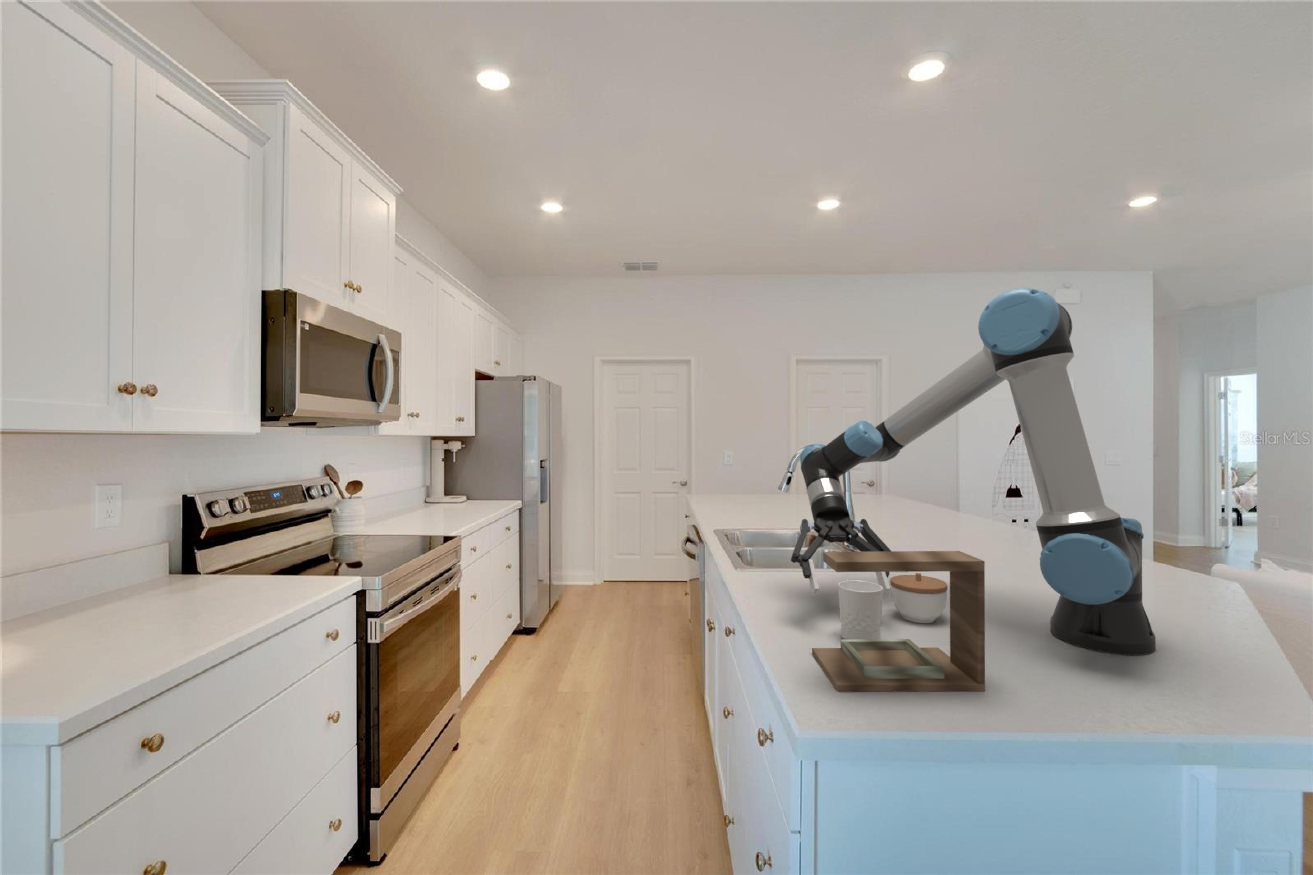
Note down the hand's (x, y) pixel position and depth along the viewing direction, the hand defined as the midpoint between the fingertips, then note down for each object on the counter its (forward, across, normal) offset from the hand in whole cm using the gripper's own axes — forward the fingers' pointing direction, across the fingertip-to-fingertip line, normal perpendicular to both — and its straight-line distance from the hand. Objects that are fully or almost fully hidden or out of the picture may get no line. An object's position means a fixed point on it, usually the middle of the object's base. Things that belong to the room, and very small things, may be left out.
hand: (851, 592), depth 106 cm
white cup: (+8, -1, -4) cm, 9 cm away
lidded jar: (0, -17, -12) cm, 20 cm away
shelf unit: (+17, -1, +6) cm, 19 cm away
